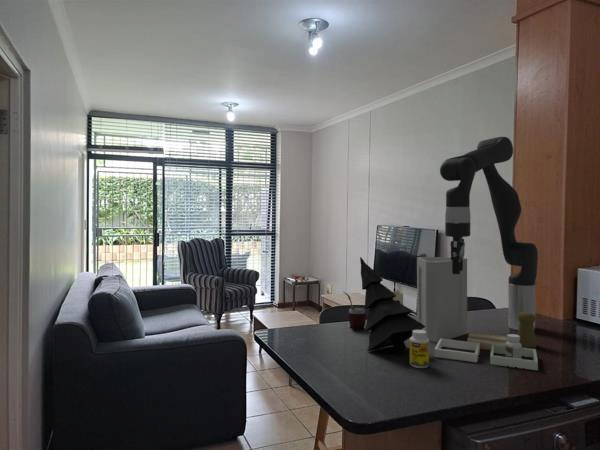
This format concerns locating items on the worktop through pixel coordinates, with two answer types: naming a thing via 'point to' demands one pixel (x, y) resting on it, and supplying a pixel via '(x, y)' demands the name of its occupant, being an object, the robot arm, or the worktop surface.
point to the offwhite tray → (457, 354)
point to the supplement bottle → (419, 349)
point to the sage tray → (514, 361)
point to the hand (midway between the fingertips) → (457, 272)
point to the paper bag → (441, 298)
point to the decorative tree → (385, 314)
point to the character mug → (398, 297)
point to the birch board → (487, 340)
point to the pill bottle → (513, 347)
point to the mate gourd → (356, 317)
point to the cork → (526, 329)
